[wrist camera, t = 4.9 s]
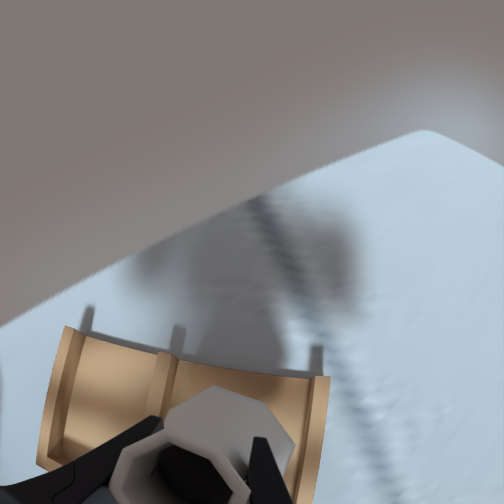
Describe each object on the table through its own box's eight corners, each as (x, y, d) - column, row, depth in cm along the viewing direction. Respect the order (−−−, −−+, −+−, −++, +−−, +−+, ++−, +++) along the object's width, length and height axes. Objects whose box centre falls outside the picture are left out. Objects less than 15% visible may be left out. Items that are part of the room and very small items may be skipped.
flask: (212, 362, 16) (160, 290, 8) (319, 439, 14) (398, 461, 5) (131, 452, 13) (8, 463, 5) (233, 533, 11) (207, 635, 2)
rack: (299, 529, 15) (304, 541, 13) (53, 463, 17) (35, 464, 14) (323, 381, 21) (331, 376, 19) (80, 335, 23) (64, 325, 20)
